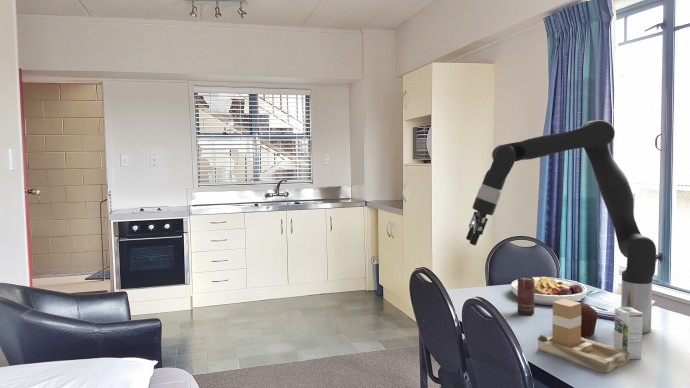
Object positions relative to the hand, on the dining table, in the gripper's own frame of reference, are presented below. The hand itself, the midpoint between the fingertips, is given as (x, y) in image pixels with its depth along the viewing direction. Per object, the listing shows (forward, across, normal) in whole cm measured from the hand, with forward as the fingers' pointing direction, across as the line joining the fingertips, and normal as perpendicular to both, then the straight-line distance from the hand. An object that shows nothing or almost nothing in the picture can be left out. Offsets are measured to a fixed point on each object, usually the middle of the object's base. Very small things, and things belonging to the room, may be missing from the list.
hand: (470, 242), depth 185 cm
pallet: (+19, -24, -39) cm, 50 cm away
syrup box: (+14, -24, -52) cm, 59 cm away
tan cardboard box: (+19, -20, -36) cm, 45 cm away
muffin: (+17, -4, -45) cm, 48 cm away
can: (+21, +16, -33) cm, 43 cm away
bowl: (+16, +39, -47) cm, 63 cm away
